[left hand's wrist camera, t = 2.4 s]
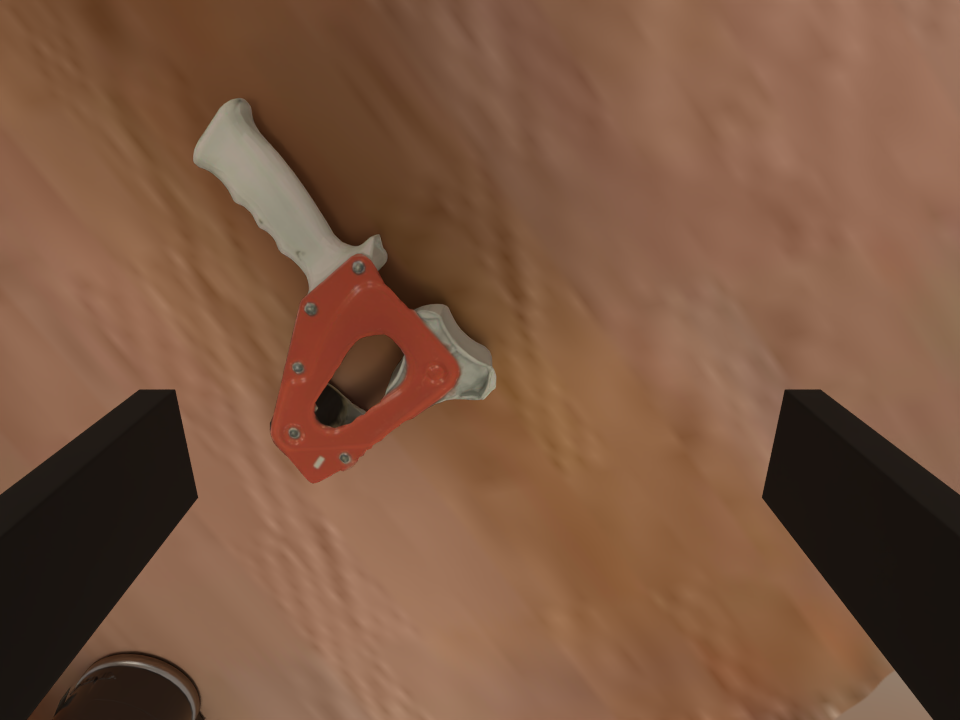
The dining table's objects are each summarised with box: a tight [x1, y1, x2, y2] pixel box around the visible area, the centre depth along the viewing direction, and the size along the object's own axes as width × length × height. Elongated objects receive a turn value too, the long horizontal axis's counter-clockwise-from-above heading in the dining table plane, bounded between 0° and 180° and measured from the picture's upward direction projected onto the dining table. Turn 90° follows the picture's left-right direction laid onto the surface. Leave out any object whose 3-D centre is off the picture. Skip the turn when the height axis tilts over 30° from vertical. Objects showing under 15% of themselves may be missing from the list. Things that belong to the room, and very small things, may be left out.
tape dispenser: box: [193, 98, 496, 483], centre depth 33 cm, size 18×5×20 cm
